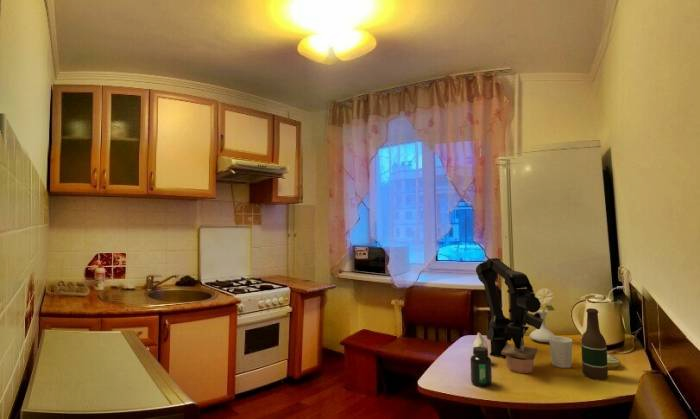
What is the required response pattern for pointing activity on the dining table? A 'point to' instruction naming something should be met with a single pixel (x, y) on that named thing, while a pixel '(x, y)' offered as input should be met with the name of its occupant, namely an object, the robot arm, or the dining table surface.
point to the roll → (480, 342)
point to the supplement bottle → (481, 368)
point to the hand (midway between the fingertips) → (519, 347)
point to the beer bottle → (594, 349)
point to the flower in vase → (543, 316)
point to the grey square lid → (519, 351)
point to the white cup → (561, 351)
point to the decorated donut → (613, 362)
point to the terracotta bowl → (519, 364)
